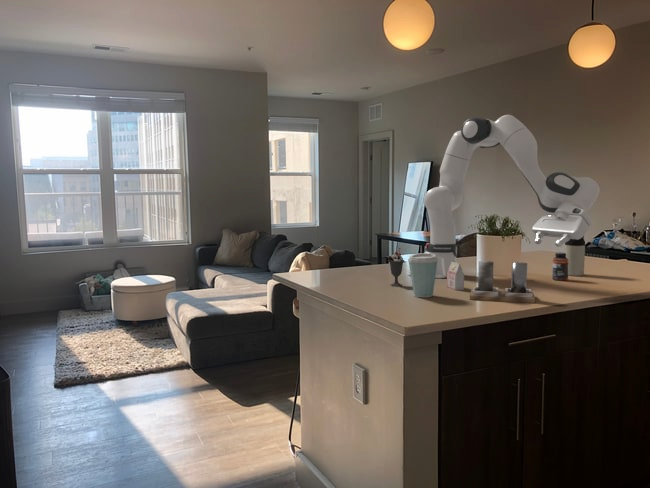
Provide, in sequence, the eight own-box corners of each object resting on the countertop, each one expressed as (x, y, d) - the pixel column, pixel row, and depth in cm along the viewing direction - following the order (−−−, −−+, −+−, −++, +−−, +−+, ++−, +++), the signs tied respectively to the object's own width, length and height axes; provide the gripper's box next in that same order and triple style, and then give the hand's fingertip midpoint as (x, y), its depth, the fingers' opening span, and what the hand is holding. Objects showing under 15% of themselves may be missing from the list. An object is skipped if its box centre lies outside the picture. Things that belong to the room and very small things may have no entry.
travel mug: (575, 276, 224) (577, 235, 222) (559, 274, 231) (561, 233, 229) (587, 275, 228) (589, 234, 226) (571, 272, 235) (573, 232, 233)
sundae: (406, 284, 212) (406, 247, 210) (402, 287, 205) (403, 249, 204) (389, 283, 214) (390, 247, 212) (386, 286, 207) (386, 248, 206)
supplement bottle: (564, 278, 220) (565, 251, 219) (570, 281, 214) (571, 253, 213) (550, 278, 221) (551, 251, 220) (554, 281, 215) (555, 253, 214)
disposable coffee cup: (431, 300, 181) (431, 257, 179) (402, 297, 187) (402, 255, 185) (442, 294, 190) (442, 253, 188) (414, 292, 196) (414, 252, 194)
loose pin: (510, 295, 180) (512, 263, 179) (510, 292, 185) (512, 261, 184) (526, 296, 178) (527, 264, 177) (525, 293, 183) (527, 262, 182)
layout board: (469, 299, 181) (470, 263, 180) (471, 293, 193) (472, 259, 191) (534, 303, 175) (536, 266, 173) (532, 296, 186) (533, 261, 185)
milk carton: (455, 286, 206) (455, 261, 205) (463, 289, 199) (464, 263, 198) (446, 287, 205) (447, 261, 204) (455, 290, 198) (455, 264, 197)
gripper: (541, 208, 196) (520, 235, 193) (588, 210, 177) (565, 240, 174) (549, 220, 198) (529, 247, 195) (596, 223, 180) (574, 253, 177)
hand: (546, 244), depth 185 cm, fingers open, 8 cm apart
